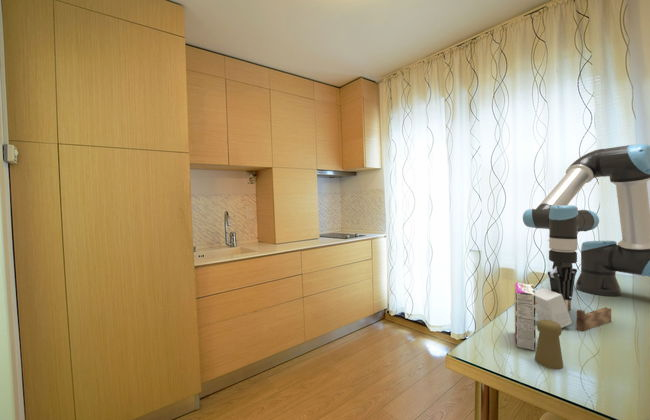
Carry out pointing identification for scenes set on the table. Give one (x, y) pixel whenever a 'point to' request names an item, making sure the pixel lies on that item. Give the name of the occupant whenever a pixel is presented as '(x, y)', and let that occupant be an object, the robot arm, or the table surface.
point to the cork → (549, 345)
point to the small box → (551, 307)
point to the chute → (591, 318)
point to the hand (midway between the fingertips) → (561, 317)
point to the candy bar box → (525, 316)
